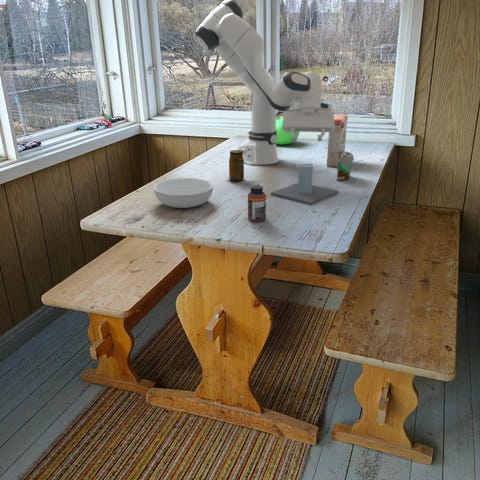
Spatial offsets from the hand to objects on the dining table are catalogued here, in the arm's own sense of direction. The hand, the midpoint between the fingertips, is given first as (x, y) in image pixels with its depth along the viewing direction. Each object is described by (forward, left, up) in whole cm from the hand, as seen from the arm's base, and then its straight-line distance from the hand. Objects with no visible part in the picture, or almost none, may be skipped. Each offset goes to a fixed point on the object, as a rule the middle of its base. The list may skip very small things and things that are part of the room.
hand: (307, 139), depth 195 cm
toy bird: (-53, +52, -18) cm, 76 cm away
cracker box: (-9, +36, -18) cm, 41 cm away
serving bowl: (-19, -47, -18) cm, 54 cm away
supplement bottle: (+11, -42, -18) cm, 47 cm away
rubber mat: (+7, -10, -18) cm, 22 cm away
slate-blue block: (+7, -10, -17) cm, 21 cm away
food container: (+7, +18, -18) cm, 26 cm away
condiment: (-25, -13, -18) cm, 34 cm away
